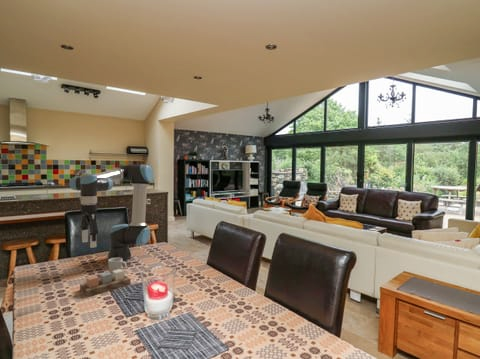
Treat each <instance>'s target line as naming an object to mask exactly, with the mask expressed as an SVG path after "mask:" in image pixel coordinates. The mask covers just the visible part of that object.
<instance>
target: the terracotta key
mask: <svg viewBox="0 0 480 359" xmlns="http://www.w3.org/2000/svg"><path fill="white" fill-rule="evenodd" d="M99 279H100V276H97V275H96V274H94V275H90V276H87V277H86V282H85V283H86V286H87V287H88V288H92V287H96V286H99Z"/></svg>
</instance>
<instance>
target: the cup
mask: <svg viewBox="0 0 480 359" xmlns="http://www.w3.org/2000/svg"><path fill="white" fill-rule="evenodd" d="M122 260H123V259H122V258H119V257H116V258H111V259H109V260H107V265H108V266H107V267H108V272H109V273H111V274H112V271H114V270H118V269H122V270H123V271H124V270H125V269H127V262H126V261H122ZM123 265H124V267H123Z"/></svg>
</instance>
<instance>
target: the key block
mask: <svg viewBox="0 0 480 359" xmlns="http://www.w3.org/2000/svg"><path fill="white" fill-rule="evenodd" d="M131 280H132V279H131V278H130V277H128V276H127V275H125V274H124V279H121V280H117V281H115V280H113V279H112V282H110V283H107V284H103V285H102V284H101V283H100V278H99V286H96V287H92V288H88V287H87V286H86V282H85V283H80V284H79V291H80V292H82V294H83V295H85V297H87V298H89V297H93V296H96V295H100V294H103V293H106V292H110V291H113V290H116V289H120V288H123V287H126V286H130V285H131Z"/></svg>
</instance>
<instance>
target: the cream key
mask: <svg viewBox="0 0 480 359" xmlns="http://www.w3.org/2000/svg"><path fill="white" fill-rule="evenodd" d="M124 275H125V270H124V269H123V270H122V269H118V270H114V271H112V279H113V280H115V281H117V280H121V279H124Z"/></svg>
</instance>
